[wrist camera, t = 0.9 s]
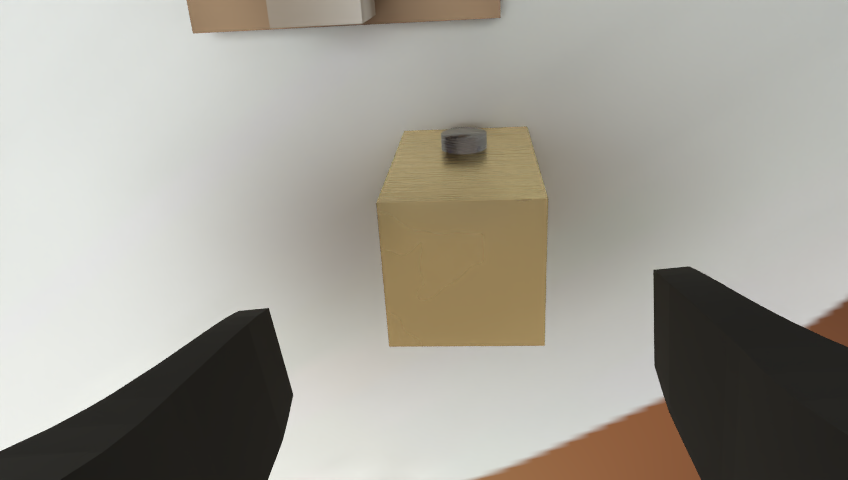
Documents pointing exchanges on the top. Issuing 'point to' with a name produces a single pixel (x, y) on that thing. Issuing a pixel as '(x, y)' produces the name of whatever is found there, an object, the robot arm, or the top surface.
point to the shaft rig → (329, 13)
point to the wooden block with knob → (464, 239)
